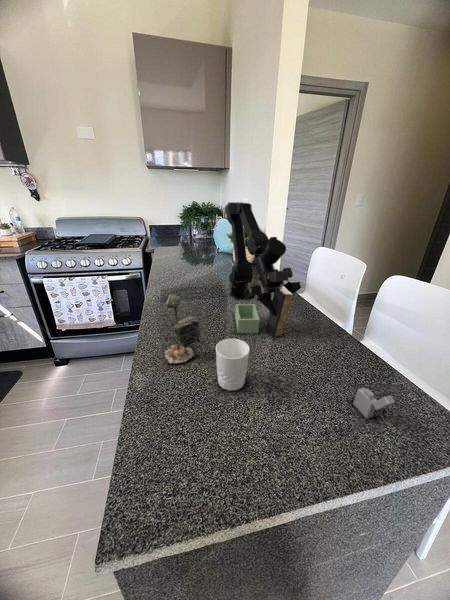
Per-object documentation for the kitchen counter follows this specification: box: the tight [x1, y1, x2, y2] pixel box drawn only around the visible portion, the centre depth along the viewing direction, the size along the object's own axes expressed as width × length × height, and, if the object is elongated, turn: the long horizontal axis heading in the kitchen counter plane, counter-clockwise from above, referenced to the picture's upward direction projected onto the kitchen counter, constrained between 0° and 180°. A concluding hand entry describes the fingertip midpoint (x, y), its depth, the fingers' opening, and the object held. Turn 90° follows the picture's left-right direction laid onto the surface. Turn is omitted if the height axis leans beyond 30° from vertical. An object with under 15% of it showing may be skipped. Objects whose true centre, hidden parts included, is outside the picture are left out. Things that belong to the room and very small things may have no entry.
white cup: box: [215, 338, 251, 391], centre depth 60 cm, size 8×8×10 cm
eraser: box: [265, 285, 294, 337], centre depth 80 cm, size 3×6×15 cm, turn 15°
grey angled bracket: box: [352, 387, 396, 419], centre depth 52 cm, size 7×2×8 cm, turn 15°
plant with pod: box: [163, 293, 203, 365], centre depth 67 cm, size 8×11×20 cm
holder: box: [234, 303, 261, 334], centre depth 86 cm, size 11×7×5 cm, turn 2°
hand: (279, 314), depth 79 cm, fingers closed on eraser, 3 cm apart
